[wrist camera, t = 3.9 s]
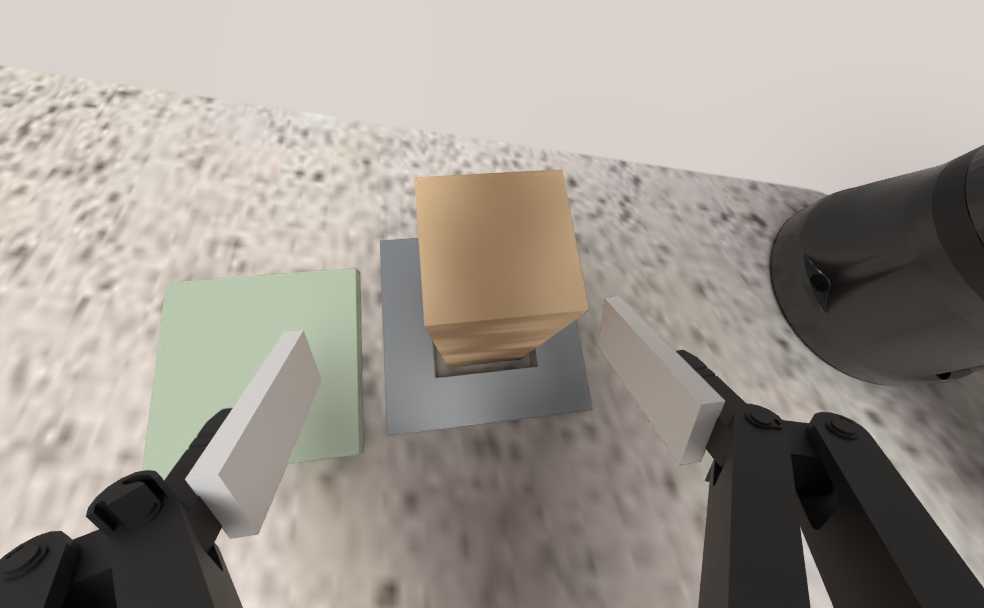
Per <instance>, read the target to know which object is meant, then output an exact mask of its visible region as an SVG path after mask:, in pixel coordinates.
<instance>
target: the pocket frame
mask: <svg viewBox="0 0 984 608" xmlns="http://www.w3.org/2000/svg"><path fill="white" fill-rule="evenodd" d="M380 255H381V283H382V310H383V337H384V365H385V392H386V420H387V436H391V435H399V434H407V433H415V432H423V431H431V430H438V429H446V428H454V427H462V426H470V425H478V424H486V423H493V422H501V421H509V420H517V419H525V418H533V417H540V416H548V415H556V414H564V413H572V412H580V411H588V410H592V405H591V399H590V394H589V388H588V383H587V377H586V372H585V366H584V361H583V355H582V350H581V344H580V339H579V333H578V327H577V322H576V320H575V321H573V322H572V323H570V324H569V325H568V326H566V327H565V328H563V329H562V330H561V331H559V332H558V333H556V334H555V335H554V336H552V337H551V338H549V339H548V340H547V341H545V342H544V343H542V344H541V345H540V346H538V347H537V348H535V349H534V350H533V351H531V352H530V357H531V364H532V367H530V368H521V369H513V370H504V371H495V372H486V373H477V374H468V375H459V376H450V377H441V378H437V367H436V353H435V344H434V342H433V340H432V339H431V337H430V335H429V333H428V331H427V330H426V328H425V326H424V311H423V297H422V282H421V267H420V252H419V238H410V239H396V240H382V241H380Z"/></svg>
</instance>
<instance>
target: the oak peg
mask: <svg viewBox="0 0 984 608" xmlns="http://www.w3.org/2000/svg"><path fill="white" fill-rule="evenodd" d="M414 178H415V192H416V207H417V222H418V237H419V252H420V267H421V282H422V297H423V311H424V326H425V328H426V330H427V331H428V333H429V335H430V337H431V339H432V340H433V342H434V344H435V346H436V347H437V349H438V351H439V353H440V355H441V356H442V358H443V360H444V362H445V363H446V365H447V367H457V366H466V365H475V364H484V363H493V362H502V361H511V360H520V359H521V358H523V357H524V356H526V355H527V354H528V353H530V352H531V351H533V350H534V349H535V348H537V347H538V346H540V345H541V344H542V343H544V342H545V341H547V340H548V339H549V338H551V337H552V336H554V335H555V334H556V333H558V332H559V331H561V330H562V329H563V328H565V327H566V326H568V325H569V324H570V323H572V322H573V321H575V320H576V319H577V318H579V317H580V316H582V315H583V314H584V313H586V312H587V311H589V307H588V301H587V296H586V291H585V286H584V281H583V275H582V270H581V265H580V260H579V255H578V249H577V244H576V239H575V234H574V229H573V223H572V218H571V213H570V208H569V203H568V197H567V192H566V187H565V182H564V176H563V171H562V169H561V170H543V171H524V172H506V173H488V174H469V175H451V176H432V177H414Z"/></svg>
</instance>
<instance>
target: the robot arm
mask: <svg viewBox="0 0 984 608" xmlns="http://www.w3.org/2000/svg"><path fill="white" fill-rule="evenodd" d="M771 266H772V278H773V284H774V288H775V292H776V295H777V298H778V300H779V303H780V305H781V307H782V310H783V312H784V314H785V315H786V317H787V319H788V321H789V322H790V324H791V325H792V327H793V328H794V330H795V331H796V332H797V334H798V335H799V336H800V337H801V339H802V340H803V341H804V342H805V343H806V344H807V345H808V346H809V347H810V348H811V349H812V350H813V351H814V352H815V353H816V354H817V355H819V356H820V357H821V358H822V359H824V360H825V361H826V362H828V363H829V364H831V365H832V366H834V367H835V368H837V369H839V370H840V371H842V372H844V373H846V374H848V375H850V376H853V377H855V378H858V379H860V380H863V381H867V382H870V383H875V384H881V385H919V384H935V383H942V382H947V381H951V380H955V379H958V378H961V377H964V376H966V375H969V374H971V373H972V372H975V371H980V370H984V145H983V146H981V147H979V148H977V149H974V150H972V151H970V152H968V153H966V154H964V155H962V156H960V157H958V158H956V159H953V160H951V161H949V162H947V163H945V164H943V165H940V166H936V167H933V168H929V169H925V170H921V171H917V172H913V173H909V174H905V175H901V176H897V177H893V178H889V179H885V180H881V181H877V182H873V183H870V184H866V185H862V186H858V187H855V188H850V189H846V190H842V191H839V192H836V193H833V194H831V195H828V196H826V197H824V198H822V199H820V200H819V201H817V202H815V203H813V204H811V205H810V206H808V207H806V208H804V209H802V210H801V211H799V212H798V213H796V214H795V215H793V216H792V217H791V218H790V219H789V220H788V221H787V222H786V223H785V224H784V226H783V227H782V229H781V230H780V232H779V234H778V236H777V238H776V241H775V244H774V248H773V252H772V262H771ZM598 348H599V349H600V351H601V352H602V353H603V355H604V356H605V358H606V359H607V361H608V362H609V364H610V365H611V367H612V368H613V369H614V371H615V372H616V374H617V375H618V377H619V378H620V380H621V381H622V382H623V384H624V385H625V387H626V388H627V390H628V391H629V393H630V394H631V395H632V397H633V398H634V400H635V401H636V403H637V404H638V406H639V407H640V409H641V410H642V411H643V413H644V414H645V416H646V417H647V419H648V420H649V422H650V423H651V424H652V426H653V427H654V429H655V430H656V432H657V433H658V435H659V436H660V437H661V439H662V440H663V442H664V443H665V445H666V446H667V448H668V449H669V450H670V452H671V453H672V455H673V456H674V458H675V459H676V461H677V462H678V464H679V465H683V464H690V463H696V462H701V460H702V458H703V455H704V453H705V450H707V451H708V452H709V453H710V455H711V456H712V457H713V458H714V460H713V463H712V465H711V467H710V470H709V472H708V474H707V477H706V479H705V481H707V482H709V481H710V484H709V495H708V506H707V517H706V528H705V539H704V551H703V562H702V573H701V584H700V595H699V606H698V608H810V600H809V592H808V585H807V577H806V569H805V561H804V554H803V546H802V538H801V530H802V532H803V534H804V537H805V539H806V542H807V544H808V546H809V549H810V551H811V554H812V556H813V559H814V561H815V563H816V566H817V568H818V571H819V573H820V575H821V578H822V580H823V583H824V585H825V588H826V590H827V592H828V595H829V597H830V600H831V602H832V605H833V607H834V608H984V588H983V586H982V585H981V584H980V582H979V581H978V580H977V578H976V577H975V576H974V574H973V573H972V571H971V570H970V569H969V567H968V566H967V565H966V563H965V562H964V561H963V559H962V558H961V557H960V555H959V554H958V553H957V551H956V550H955V548H954V547H953V546H952V544H951V543H950V542H949V540H948V539H947V538H946V536H945V535H944V534H943V532H942V531H941V529H940V528H939V527H938V525H937V524H936V523H935V521H934V520H933V519H932V517H931V516H930V515H929V513H928V512H927V511H926V509H925V508H924V506H923V505H922V504H921V502H920V501H919V500H918V498H917V497H916V496H915V494H914V493H913V492H912V490H911V489H910V487H909V486H908V485H907V483H906V482H905V481H904V479H903V478H902V477H901V475H900V474H899V473H898V471H897V470H896V469H895V467H894V466H893V464H892V463H891V462H890V460H889V459H888V458H887V456H886V455H885V454H884V452H883V451H882V450H881V448H880V447H879V446H878V444H877V443H876V441H875V440H874V439H873V437H872V436H871V435H870V434H869V433H868V432H867V431H866V430H865V429H864V428H863V427H862V426H860V425H859V424H857V423H856V422H854V421H853V420H851V419H848V418H846V417H844V416H842V415H838V414H834V413H830V412H819V413H816V414H814V416H813V418H812V419H811V421H810V423H802V422H793V421H785V420H782V419H781V418H780V417H779V416H778V415H776V414H775V413H773V412H772V411H770V410H768V409H766V408H763V407H761V406H758V405H753V404H746V403H745V402H744V401H743V400H742V399H741V398H740V397H739V396H738V395H737V394H736V393H735V392H733V391H732V390H731V389H730V388H729V387H728V386H727V385H726V384H725V383H724V382H723V381H722V380H721V379H720V378H719V377H718V376H715V374H714V373H713V372H712V371H711V370H710V369H708V368H707V366H706V365H705V364H704V363H703V362H702V361H701V360H699V359H698V358H697V357H696V356H694V355H692V354H690V353H688V352H687V351H685V350H679V351H675V350H674V349H673V348H672V347H671V346H670V345H669V344H668V343H667V342H666V341H665V340H664V339H663V338H662V337H661V336H660V335H659V334H658V333H657V332H656V331H655V330H654V329H653V328H652V327H651V326H650V325H649V324H648V323H647V322H646V321H645V320H644V319H643V318H642V317H641V316H640V315H639V314H638V313H637V312H636V311H635V310H634V309H633V308H632V307H631V306H630V305H629V304H628V303H627V302H626V301H625V300H624V299H623V298H622V297H621V296H618V297H609V298H605V300H604V307H603V314H602V321H601V328H600V335H599V342H598ZM321 381H322V379H321V376H320V373H319V371H318V368H317V365H316V362H315V360H314V357H313V354H312V351H311V349H310V346H309V343H308V340H307V338H306V335H305V332H304V330H297V331H287V332H284V333H283V334H282V336H281V337H280V339H279V340H278V342H277V343H276V345H275V346H274V348H273V349H272V351H271V352H270V354H269V355H268V357H267V358H266V360H265V361H264V363H263V364H262V366H261V367H260V369H259V370H258V372H257V373H256V375H255V376H254V377H253V379H252V380H251V382H250V383H249V385H248V386H247V388H246V389H245V391H244V392H243V394H242V395H241V397H240V398H239V400H238V401H237V403H236V404H235V406H234V407H233V408H226V409H221V410H220V411H219V412H218V413H217V414H215V415H214V416H213V417H212V418H211V419H209V420H208V421H207V422H206V423H205V425H204V426H203V428H202V429H201V430H200V432H199V433H198V434H197V438H195V439H194V440H193V441H192V443H191V444H190V445H189V449H187V450H186V451H185V452H184V454H183V455H182V456H181V458H180V459H179V461H178V462H177V463H176V465H175V466H174V467H173V469H172V470H171V472H170V473H169V474H168V476H167V477H166V478H165V480H164V479H163V478H162V477H161V476H160V475H159V474H158V473H157V472H156V471H153V470H144V471H139V472H135V473H133V474H130V475H128V476H126V477H124V478H121V479H120V480H118V481H117V482H115V483H113V484H112V485H110V486H109V487H107V488H106V489H105V490H104V491H103V492H102V493H100V494H99V495H98V496H97V497H96V498H95V499H94V501H93V502H92V503H91V505H90V506H89V507H88V511H87V514H86V517H87V518H88V519H89V520H90V521H91V522H92V523H93V524H94V525H96V526H97V527H98V528H99V530H97V531H94V532H91V533H89V534H86V535H84V536H81V537H79V538H76V539H73V540H72V539H71V538H70V537H69V536H67V535H66V534H65V533H63V532H62V531H51V532H48V533H45V534H42V535H39V536H36V537H34V538H32V539H30V540H28V541H26V542H24V543H23V544H21V545H19V546H18V547H16V548H15V549H13V550H12V551H11V552H9V553H8V554H6V555H5V556H4V557H2V558H1V559H0V608H243V607H242V605H241V602H240V600H239V597H238V595H237V592H236V590H235V587H234V585H233V582H232V580H231V577H230V575H229V572H228V570H227V567H226V565H225V562H224V560H223V557H222V555H221V552H220V550H219V547H218V546H217V545H216V544H215V543H214V542H215V540H216V538H217V536H218V534H219V532H220V530H221V528H222V529H223V530H224V531H225V533H226V534H227V535H228V537H229V538H230V539H232V538H238V537H245V536H251V535H257V534H259V532H260V529H261V527H262V524H263V522H264V520H265V517H266V515H267V512H268V510H269V507H270V505H271V503H272V500H273V498H274V495H275V493H276V490H277V488H278V486H279V483H280V481H281V478H282V476H283V474H284V471H285V469H286V466H287V464H288V461H289V459H290V457H291V454H292V452H293V449H294V447H295V444H296V442H297V440H298V437H299V435H300V432H301V430H302V428H303V425H304V423H305V420H306V418H307V415H308V413H309V411H310V408H311V406H312V403H313V401H314V398H315V396H316V394H317V391H318V389H319V386H320V384H321ZM800 527H801V530H800Z"/></svg>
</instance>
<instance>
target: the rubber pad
mask: <svg viewBox="0 0 984 608" xmlns="http://www.w3.org/2000/svg"><path fill="white" fill-rule="evenodd" d="M297 330H304V332H305V335H306V338H307V340H308V343H309V346H310V349H311V351H312V354H313V357H314V360H315V362H316V365H317V368H318V371H319V373H320V376H321V379H322V381H321V384H320V386H319V389H318V391H317V394H316V396H315V398H314V401H313V403H312V406H311V408H310V411H309V413H308V415H307V418H306V420H305V423H304V425H303V428H302V430H301V432H300V435H299V437H298V440H297V442H296V444H295V447H294V449H293V452H292V454H291V457H290V459H289V461H288V464H291V463H299V462H306V461H314V460H321V459H329V458H337V457H344V456H352V455H359V454H361V453H363V406H362V356H361V306H360V273H359V271H358V270H357V269H356V268H348V269H335V270H323V271H310V272H297V273H284V274H272V275H259V276H246V277H234V278H221V279H208V280H195V281H183V282H170V283H166V288H165V296H164V304H163V312H162V319H161V327H160V335H159V343H158V350H157V358H156V366H155V374H154V381H153V389H152V397H151V405H150V412H149V420H148V428H147V436H146V443H145V451H144V459H143V467H142V471H144V470H153V471H156V472H157V473H158V474H159V475H160V476H161V477H162V478H163V479H164V480H165V478H166V477H167V476H168V474H169V473H170V472H171V470H172V469H173V467H174V466H175V465H176V463H177V462H178V461H179V459H180V458H181V456H182V455H183V454H184V452H185V451H186V450H187V449H189V445H190V444H191V443H192V441H193V440H194V439H195V438H197V434H198V433H199V432H200V430H201V429H202V428H203V426H204V425H205V423H206V422H207V421H208V420H209V419H211V418H212V417H213V416H214V415H215V414H217V413H218V412H219V411H220V410H221V409H226V408H233V407H234V406H235V404H236V403H237V401H238V400H239V398H240V397H241V395H242V394H243V392H244V391H245V389H246V388H247V386H248V385H249V383H250V382H251V380H252V379H253V377H254V376H255V375H256V373H257V372H258V370H259V369H260V367H261V366H262V364H263V363H264V361H265V360H266V358H267V357H268V355H269V354H270V352H271V351H272V349H273V348H274V346H275V345H276V343H277V342H278V340H279V339H280V337H281V336H282V334H283V333H284V332H287V331H297Z"/></svg>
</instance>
